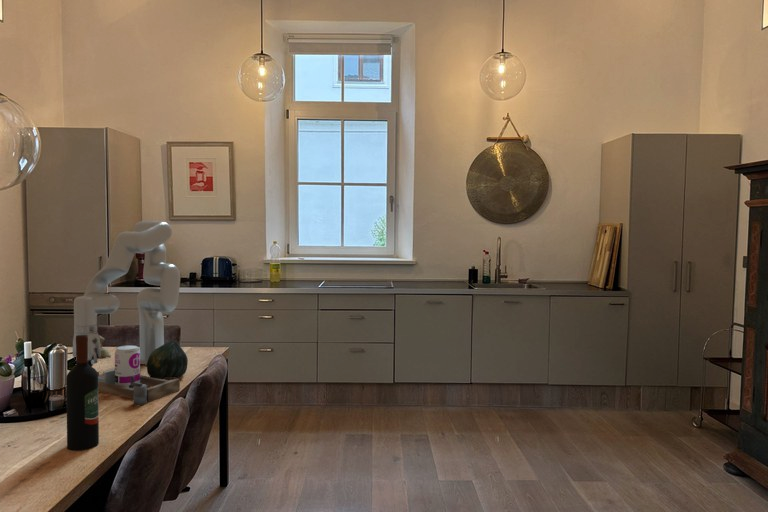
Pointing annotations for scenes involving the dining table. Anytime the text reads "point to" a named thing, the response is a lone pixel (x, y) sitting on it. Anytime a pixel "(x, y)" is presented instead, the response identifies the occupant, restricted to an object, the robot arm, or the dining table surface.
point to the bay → (142, 389)
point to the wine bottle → (82, 401)
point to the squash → (167, 361)
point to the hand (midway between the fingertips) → (86, 377)
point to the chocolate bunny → (103, 349)
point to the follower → (107, 377)
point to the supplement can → (127, 365)
